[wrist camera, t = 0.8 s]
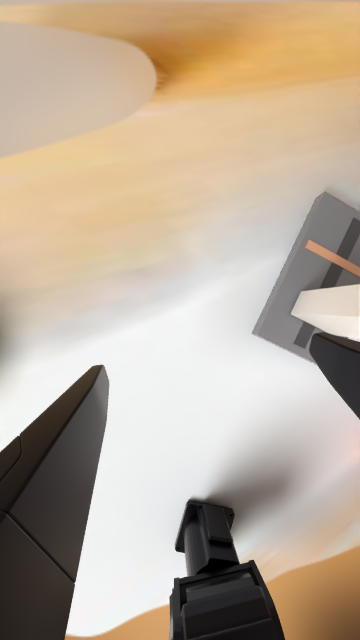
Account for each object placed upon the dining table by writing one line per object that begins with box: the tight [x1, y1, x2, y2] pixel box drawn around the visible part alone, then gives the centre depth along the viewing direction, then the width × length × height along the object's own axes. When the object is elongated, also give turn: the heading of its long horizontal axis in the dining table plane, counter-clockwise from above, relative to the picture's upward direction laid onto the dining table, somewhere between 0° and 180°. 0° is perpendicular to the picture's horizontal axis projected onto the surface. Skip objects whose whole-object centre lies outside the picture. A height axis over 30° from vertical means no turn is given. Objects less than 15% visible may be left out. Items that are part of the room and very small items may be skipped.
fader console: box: [252, 192, 360, 365], centre depth 27 cm, size 19×11×2 cm, turn 155°
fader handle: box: [291, 284, 360, 339], centre depth 21 cm, size 3×6×11 cm, turn 65°
